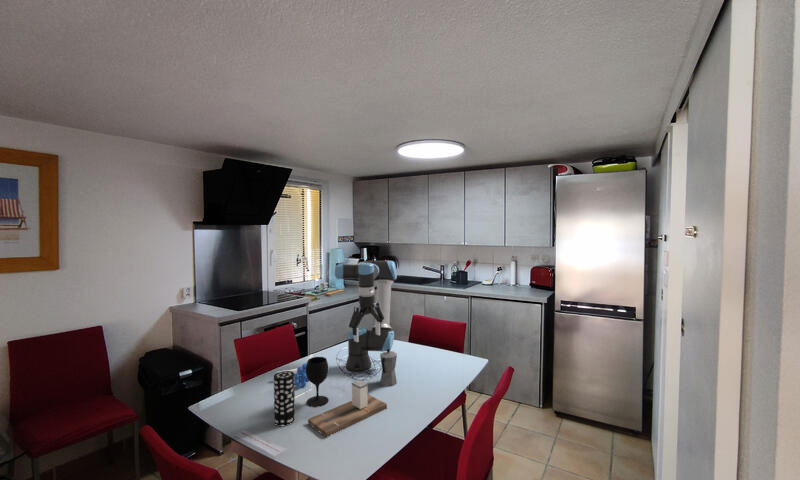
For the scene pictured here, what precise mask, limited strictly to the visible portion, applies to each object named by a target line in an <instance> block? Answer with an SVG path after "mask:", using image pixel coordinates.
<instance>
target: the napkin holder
mask: <svg viewBox="0 0 800 480" xmlns="http://www.w3.org/2000/svg"><path fill="white" fill-rule="evenodd" d="M297 369H298V367H297V368H292V369H286V370H285V369H284V370H280V371H276V373H278V372H282V371H292V372H294V374H295V373H298V372H297Z"/></svg>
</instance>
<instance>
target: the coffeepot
mask: <svg viewBox="0 0 800 480" xmlns="http://www.w3.org/2000/svg"><path fill="white" fill-rule="evenodd" d="M379 356H380V363H381V369H382V370H381V375H380V385H381V386H384V387H385V386H386V387H392V386H396V385H397V383H398V382H397V381H398V380H397V375H396V365H397V358H398V357H397V353H396V352H395V351H393V350H390V349H387V351H384V352H382V353H379Z"/></svg>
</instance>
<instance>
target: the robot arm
mask: <svg viewBox="0 0 800 480" xmlns="http://www.w3.org/2000/svg"><path fill="white" fill-rule="evenodd" d="M397 275H398V274H397V266H396V262H395V261H393V260H366V261H359V262H356V263H351V264H336V266H335V268H334V276H335V278H336V279H337V280H358V303H359V306H354V308H353V313H352V316H351V317H350V322H349V324H348V327H349V328H351V329H350V330H349V331H348V335H347V336H348V337H347V345H348V346H347V349H348V351H347V358H346V359H347V360H346V362H345V370H346V371H347V372H350V373H355V372H356V373H363V372H364V371H365V372H367V370H368V371H369V370H371V369H372V361H371V359H370V356H369V352H382V353H383V352H387V349H390V351H392V348H393V345H394V340H395V331H394V330H393V329H392V327H391V325H390V318H391V317H390V316H391V315H390V314H391V297H392V296H391V295H392V294H391V293H392V285H393V284H394V282H395V280H397V278H398V277H397ZM375 284H376V296H375V295H374V294H375ZM375 297H376V298H375ZM375 300H376V301H375ZM366 315H371V316H373V318H374V325H372V326H371V330H369V327H367V326H359V325H360V323H361V321H362V320H363V318H364V317H365V316H366ZM370 368H371V369H370Z"/></svg>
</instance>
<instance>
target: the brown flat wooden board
mask: <svg viewBox="0 0 800 480" xmlns="http://www.w3.org/2000/svg"><path fill="white" fill-rule="evenodd" d="M367 401H368V406H367V407H364V408H362V409H359V408H357V407H356V406H354V405H352V400H350V401H347V402H345V403H342V404H341V405H338V406H336V407H333V408H331V409H328V410H326V411H324V412H321V413H319V414H317V415H314V416H313V417H310V418H308V419H307V423H309V424H310V427H312V426H313V427H314V428H313V427H312V428H313V429H314V430H316V429H317V430H318V431H317V430H316V431H317V432H319V431H320V432H321V433H322V434H323V435H322V434H321V433H320V432H319V433H320V434H321V435H322V436H324V435H325V436H326V437H327V436H329V437H331V436H332V435H331V434H333V435H335V434H337V433H339V432H341V431H343V430H345V429H348V428H349V427H351V426H354V425H355V424H357V423H359V422H361V421H364V420H366V419H367V418H369V417H371V416H373V415H377V414H378V413H380V412H383V411H385V410H386V409H387V408H388V404H387V403H386V402H383V401H382V400H380V399H378V398H376V397H375V396H372V395H370V394H368V393H367ZM309 424H308V425H309ZM342 429H343V430H342ZM340 430H341V431H340ZM338 431H339V432H338ZM336 432H337V433H336ZM334 433H335V434H334ZM330 435H331V436H330ZM325 436H324V437H325ZM326 437H325V438H326ZM327 438H328V437H327Z"/></svg>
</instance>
